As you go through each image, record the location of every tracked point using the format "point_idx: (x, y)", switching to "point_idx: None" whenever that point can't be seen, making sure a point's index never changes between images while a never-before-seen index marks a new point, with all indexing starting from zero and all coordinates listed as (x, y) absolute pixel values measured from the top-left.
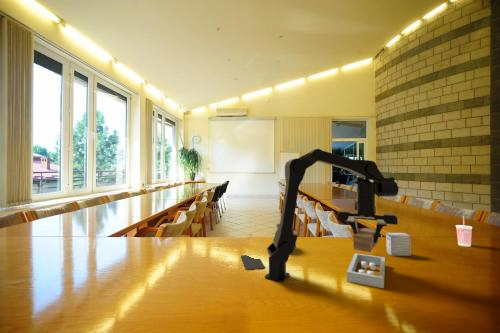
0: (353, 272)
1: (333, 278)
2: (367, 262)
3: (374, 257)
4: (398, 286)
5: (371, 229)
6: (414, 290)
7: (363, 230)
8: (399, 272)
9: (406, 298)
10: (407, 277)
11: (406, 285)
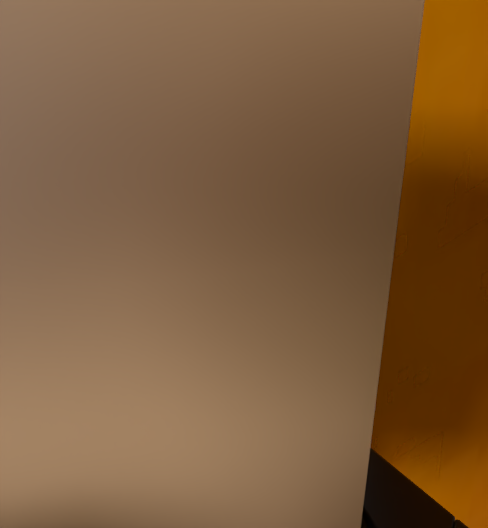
0: None
1: None
2: None
3: None
4: (404, 385)
5: (192, 172)
6: (482, 388)
7: (23, 481)
8: (420, 116)
9: (434, 498)
10: (468, 197)
11: (448, 345)
